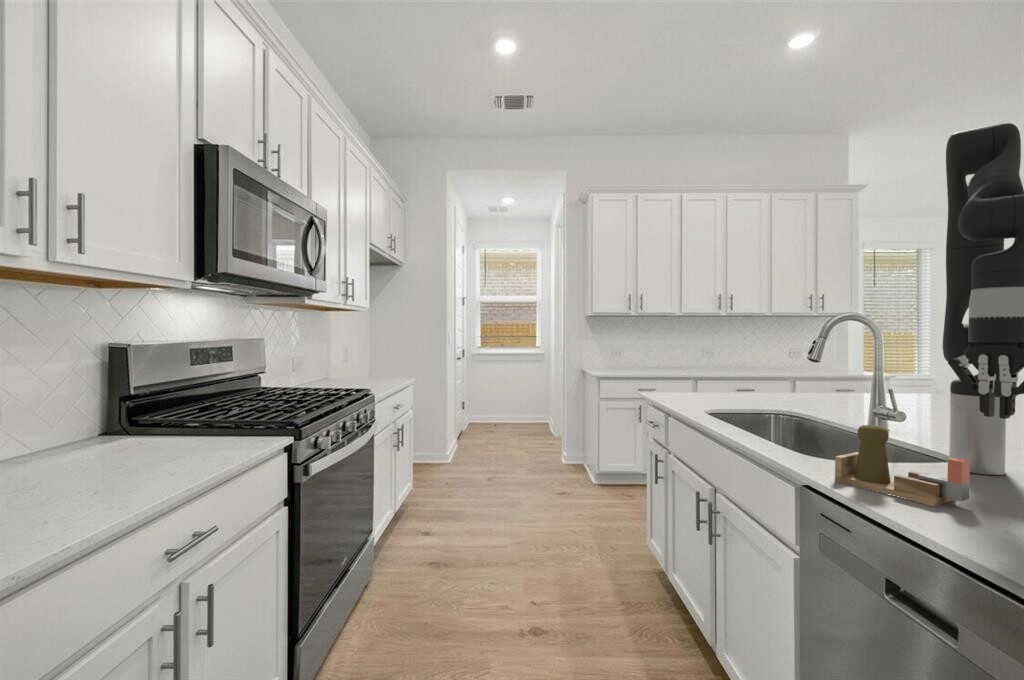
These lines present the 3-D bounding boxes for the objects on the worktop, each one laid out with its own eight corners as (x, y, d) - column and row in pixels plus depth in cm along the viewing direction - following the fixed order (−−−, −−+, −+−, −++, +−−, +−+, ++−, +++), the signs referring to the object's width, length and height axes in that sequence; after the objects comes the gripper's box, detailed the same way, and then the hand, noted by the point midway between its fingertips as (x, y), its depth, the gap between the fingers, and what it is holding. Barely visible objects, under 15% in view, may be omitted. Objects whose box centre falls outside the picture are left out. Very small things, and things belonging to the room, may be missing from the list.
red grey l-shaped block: (925, 488, 93) (926, 452, 93) (969, 498, 88) (969, 460, 88) (917, 490, 92) (918, 453, 92) (961, 501, 86) (962, 462, 86)
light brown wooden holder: (856, 475, 107) (856, 452, 107) (954, 499, 92) (955, 472, 91) (834, 480, 103) (835, 456, 103) (933, 506, 88) (934, 478, 88)
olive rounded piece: (897, 484, 97) (898, 429, 97) (863, 482, 98) (864, 428, 98) (880, 475, 103) (881, 423, 102) (848, 474, 104) (849, 422, 104)
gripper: (938, 316, 87) (936, 413, 88) (1047, 313, 75) (1045, 426, 75) (958, 316, 91) (956, 409, 91) (1066, 314, 78) (1063, 422, 79)
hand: (997, 416), depth 83 cm, fingers closed
